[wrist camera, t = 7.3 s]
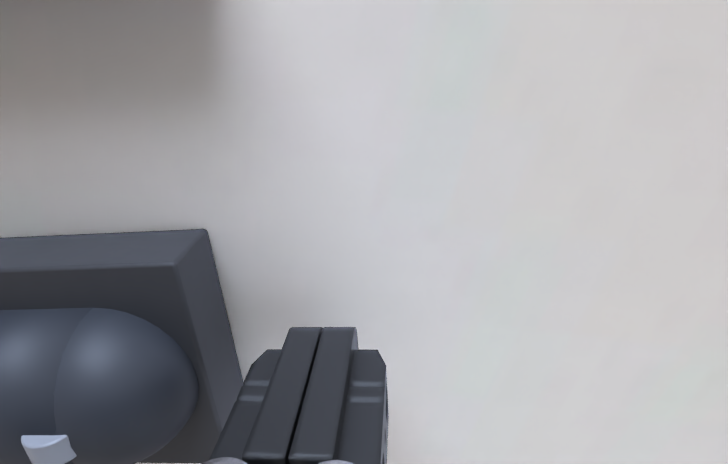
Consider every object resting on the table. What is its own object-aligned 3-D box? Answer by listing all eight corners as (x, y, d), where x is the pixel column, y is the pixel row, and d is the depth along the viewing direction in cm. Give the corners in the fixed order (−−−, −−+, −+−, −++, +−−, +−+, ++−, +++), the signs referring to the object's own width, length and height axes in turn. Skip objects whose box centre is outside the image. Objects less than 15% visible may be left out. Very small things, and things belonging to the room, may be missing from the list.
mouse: (-3, 411, 14) (-144, 548, 11) (-94, 240, 12) (-316, 339, 8) (251, 411, 13) (194, 557, 10) (208, 227, 11) (111, 330, 7)
